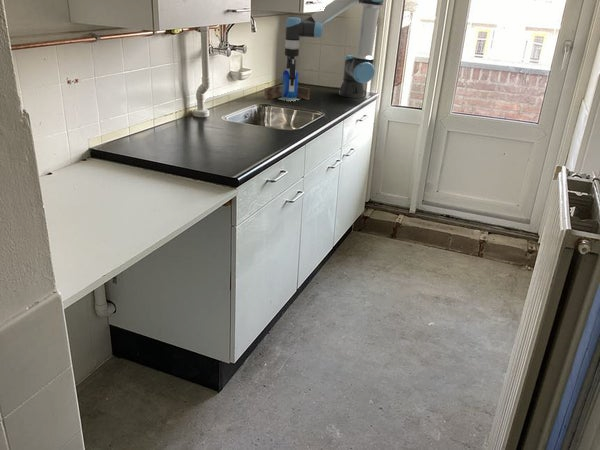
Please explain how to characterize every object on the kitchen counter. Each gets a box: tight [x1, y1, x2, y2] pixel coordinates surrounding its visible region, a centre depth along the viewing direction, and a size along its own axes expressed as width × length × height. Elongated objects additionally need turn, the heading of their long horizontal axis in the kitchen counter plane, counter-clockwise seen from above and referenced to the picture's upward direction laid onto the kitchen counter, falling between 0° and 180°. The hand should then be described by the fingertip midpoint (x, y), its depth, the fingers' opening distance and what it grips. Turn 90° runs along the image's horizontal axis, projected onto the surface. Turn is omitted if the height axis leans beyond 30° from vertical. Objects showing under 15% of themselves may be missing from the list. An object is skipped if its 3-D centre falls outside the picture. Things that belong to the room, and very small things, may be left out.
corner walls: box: [263, 84, 311, 101], centre depth 296 cm, size 20×16×6 cm
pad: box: [277, 97, 301, 103], centre depth 298 cm, size 9×9×1 cm
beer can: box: [281, 68, 299, 101], centre depth 294 cm, size 8×8×16 cm
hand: (289, 89), depth 296 cm, fingers open, 11 cm apart
